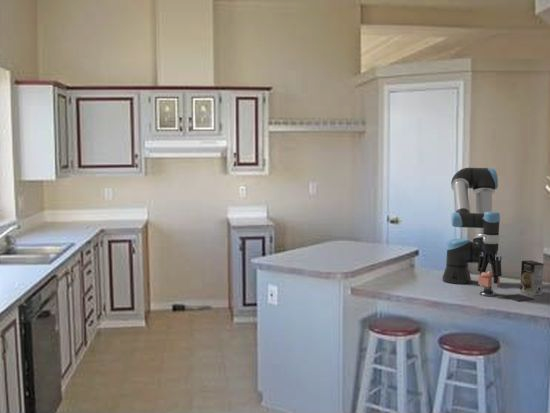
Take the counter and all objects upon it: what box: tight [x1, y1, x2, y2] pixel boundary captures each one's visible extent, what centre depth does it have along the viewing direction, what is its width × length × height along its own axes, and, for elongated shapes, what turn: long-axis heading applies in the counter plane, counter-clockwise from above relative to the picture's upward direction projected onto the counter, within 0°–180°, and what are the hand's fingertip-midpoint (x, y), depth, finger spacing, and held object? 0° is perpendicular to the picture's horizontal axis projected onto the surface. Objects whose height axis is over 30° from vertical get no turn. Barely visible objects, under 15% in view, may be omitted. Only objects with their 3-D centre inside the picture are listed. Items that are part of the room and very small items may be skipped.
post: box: [479, 278, 498, 298], centre depth 322 cm, size 8×8×9 cm
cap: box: [477, 271, 501, 287], centre depth 322 cm, size 7×7×7 cm
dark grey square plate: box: [502, 293, 535, 302], centre depth 316 cm, size 10×10×1 cm
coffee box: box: [519, 260, 545, 296], centre depth 326 cm, size 9×6×16 cm
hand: (488, 287), depth 322 cm, fingers closed on cap, 7 cm apart
